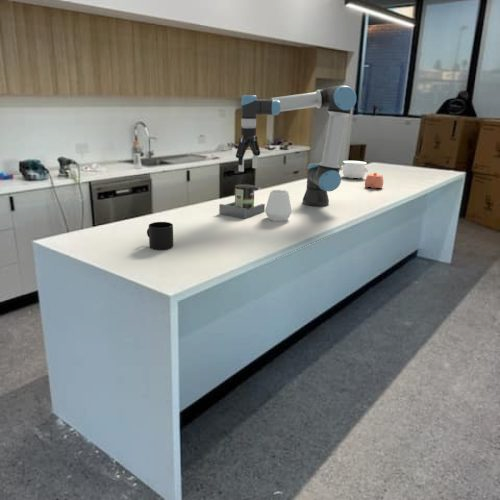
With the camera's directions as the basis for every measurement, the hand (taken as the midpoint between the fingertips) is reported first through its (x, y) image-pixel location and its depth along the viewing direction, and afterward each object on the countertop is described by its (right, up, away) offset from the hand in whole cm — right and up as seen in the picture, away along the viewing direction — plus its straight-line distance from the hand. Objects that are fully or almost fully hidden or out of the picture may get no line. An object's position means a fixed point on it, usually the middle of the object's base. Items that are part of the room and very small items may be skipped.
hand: (248, 169), depth 238 cm
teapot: (+87, +1, +82) cm, 119 cm away
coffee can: (-2, -22, +4) cm, 22 cm away
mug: (-36, -40, -54) cm, 76 cm away
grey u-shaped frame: (-3, -22, +3) cm, 22 cm away
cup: (+15, -26, -7) cm, 31 cm away
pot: (+81, +14, +120) cm, 145 cm away
